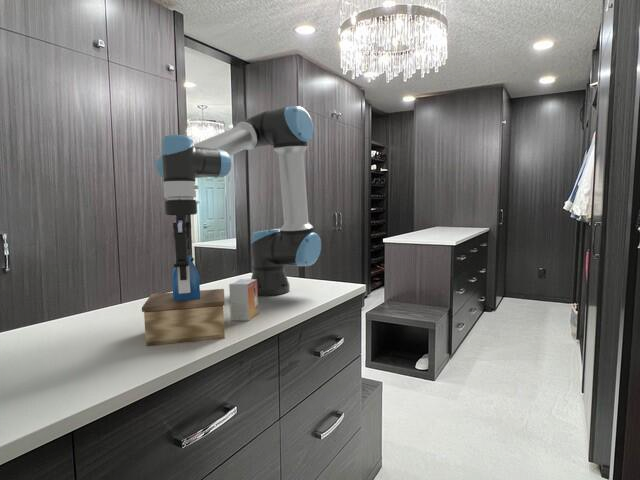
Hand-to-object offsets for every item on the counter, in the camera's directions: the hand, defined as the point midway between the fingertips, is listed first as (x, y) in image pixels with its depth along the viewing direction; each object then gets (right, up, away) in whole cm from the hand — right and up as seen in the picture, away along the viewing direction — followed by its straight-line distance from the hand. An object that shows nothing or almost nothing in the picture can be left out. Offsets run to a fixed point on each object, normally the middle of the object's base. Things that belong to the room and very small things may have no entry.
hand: (185, 289), depth 105 cm
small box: (+12, -10, +15) cm, 22 cm away
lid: (0, -3, 0) cm, 3 cm away
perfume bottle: (0, -2, 0) cm, 2 cm away
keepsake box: (0, -11, +1) cm, 11 cm away
